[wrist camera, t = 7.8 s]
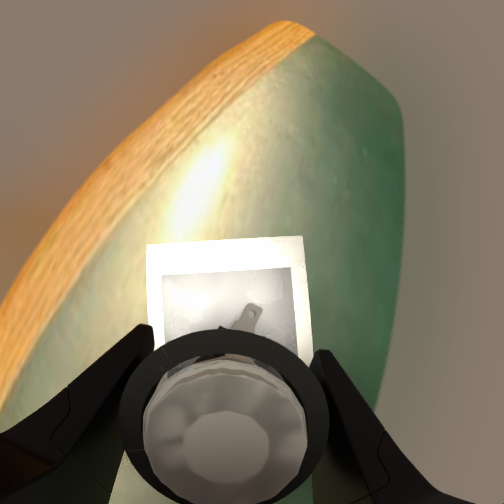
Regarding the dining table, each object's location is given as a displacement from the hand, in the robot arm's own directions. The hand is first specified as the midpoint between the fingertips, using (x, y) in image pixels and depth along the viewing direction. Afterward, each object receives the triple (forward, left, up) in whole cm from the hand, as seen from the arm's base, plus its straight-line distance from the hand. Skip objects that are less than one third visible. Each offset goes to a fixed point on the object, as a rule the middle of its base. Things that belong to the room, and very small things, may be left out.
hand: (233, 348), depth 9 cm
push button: (-1, 0, -7) cm, 7 cm away
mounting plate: (-1, 0, -10) cm, 10 cm away
